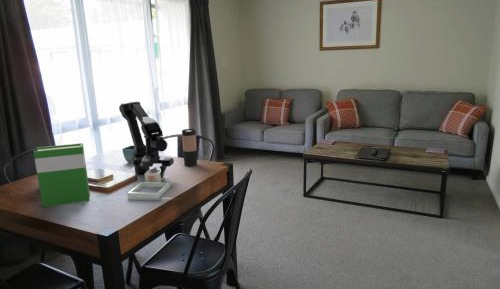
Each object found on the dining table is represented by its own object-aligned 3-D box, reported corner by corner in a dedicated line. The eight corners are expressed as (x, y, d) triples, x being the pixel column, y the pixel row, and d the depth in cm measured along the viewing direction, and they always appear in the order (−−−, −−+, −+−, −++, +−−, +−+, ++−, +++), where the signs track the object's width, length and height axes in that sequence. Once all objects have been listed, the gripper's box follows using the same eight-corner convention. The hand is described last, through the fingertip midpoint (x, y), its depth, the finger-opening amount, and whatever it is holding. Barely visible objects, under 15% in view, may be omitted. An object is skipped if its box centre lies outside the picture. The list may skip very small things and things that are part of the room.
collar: (143, 183, 171) (143, 174, 170) (151, 177, 180) (150, 168, 178) (157, 183, 170) (157, 174, 169) (164, 177, 179) (163, 169, 178)
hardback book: (42, 207, 148) (33, 151, 142) (45, 200, 155) (36, 147, 149) (89, 200, 154) (81, 146, 149) (89, 194, 161) (82, 143, 155)
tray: (128, 199, 155) (127, 192, 154) (142, 187, 168) (141, 181, 168) (158, 200, 153) (158, 194, 152) (170, 188, 166) (170, 182, 166)
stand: (141, 186, 170) (140, 172, 169) (150, 179, 180) (149, 165, 178) (161, 186, 169) (160, 172, 167) (169, 179, 178) (168, 166, 177)
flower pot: (145, 160, 213) (143, 146, 210) (136, 164, 205) (134, 149, 202) (132, 159, 215) (131, 145, 213) (123, 163, 207) (121, 148, 205)
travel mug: (181, 165, 201) (179, 131, 196) (188, 162, 208) (186, 128, 203) (193, 167, 198) (191, 132, 193) (200, 163, 205) (198, 129, 200)
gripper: (126, 151, 165) (129, 183, 169) (164, 152, 163) (167, 184, 167) (136, 145, 176) (139, 175, 180) (173, 146, 173) (175, 176, 177)
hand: (154, 178), depth 176 cm, fingers closed on collar, 7 cm apart
